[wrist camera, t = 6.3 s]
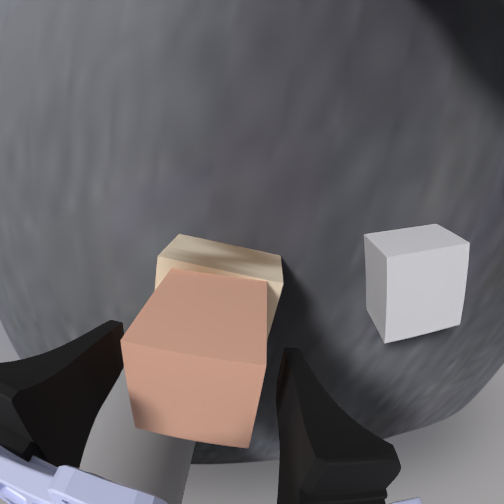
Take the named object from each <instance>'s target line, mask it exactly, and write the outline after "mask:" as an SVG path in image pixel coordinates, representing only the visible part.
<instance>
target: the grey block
mask: <svg viewBox="0 0 504 504" xmlns="http://www.w3.org/2000/svg"><path fill="white" fill-rule="evenodd" d="M364 244H365V265H366V309H367V311H368V313H369V315H370V317H371V319H372V320H373V322H374V324H375V326H376V328H377V330H378V332H379V334H380V336H381V338H382V340H383V341H384V343H389V342H393V341H398V340H402V339H406V338H411V337H415V336H419V335H423V334H427V333H431V332H434V331H438V330H442V329H445V328H449V327H453V326H456V325H459V324H460V321H461V315H462V309H463V302H464V295H465V288H466V280H467V270H468V259H469V245H470V243H469V242H467V241H466V240H464V239H462V238H461V237H459V236H457V235H455V234H454V233H452V232H450V231H448V230H447V229H445V228H443V227H441V226H439V225H438V224H432V225H425V226H418V227H411V228H404V229H397V230H390V231H383V232H376V233H370V234H364Z"/></svg>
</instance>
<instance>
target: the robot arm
mask: <svg viewBox="0 0 504 504" xmlns="http://www.w3.org/2000/svg"><path fill="white" fill-rule="evenodd" d="M123 336H124V331H123V323H122V322H118V321H113V320H110V321H108V322H106V323H104V324H102V325H100V326H98V327H97V328H95V329H93V330H91V331H90V332H88V333H86V334H84V335H82V336H81V337H79V338H77V339H75V340H73V341H71V342H69V343H67V344H65V345H63V346H61V347H58V348H56V349H54V350H51V351H49V352H46V353H43V354H40V355H37V356H33V357H30V358H26V359H22V360H17V361H12V362H5V363H0V498H1V499H3V500H4V501H5V502H7V503H8V504H168V503H167V502H166V501H165V500H163V499H161V498H159V497H157V496H155V495H153V494H151V493H148V492H145V491H142V490H139V489H136V488H133V487H129V486H126V485H123V484H120V483H116V482H113V481H110V480H108V479H105V478H102V477H99V476H96V475H94V474H91V473H88V472H86V471H83V470H81V469H79V467H80V463H81V460H82V456H83V453H84V449H85V446H86V443H87V440H88V437H89V435H90V432H91V429H92V427H93V424H94V422H95V419H96V417H97V415H98V413H99V411H100V409H101V407H102V405H103V403H104V402H105V400H106V398H107V397H108V395H109V393H110V391H111V390H112V388H113V386H114V385H115V383H116V381H117V379H118V378H119V376H120V374H121V371H122V369H123V367H124V363H123V356H122V349H121V341H120V340H121V339H122V337H123ZM276 405H277V417H278V428H279V440H280V465H279V484H278V498H277V504H385V500H384V499H385V498H387V491H386V488H387V487H388V485H389V484H390V483H391V482H392V481H393V480H394V479H395V478H396V476H397V475H398V474H399V472H400V469H401V465H400V462H399V459H398V456H397V453H396V451H395V449H394V447H393V445H392V444H390V443H388V442H386V441H384V440H383V439H381V438H379V437H377V436H375V435H374V434H372V433H371V432H369V431H368V430H366V429H365V428H363V427H362V426H361V425H359V424H358V423H357V422H356V421H354V420H353V419H352V418H351V417H350V416H349V415H347V414H346V413H345V412H344V411H343V410H342V409H341V408H340V407H339V406H338V405H337V404H336V403H335V402H334V401H333V399H332V398H331V397H330V396H329V395H328V393H327V392H326V391H325V389H324V388H323V387H322V385H321V384H320V383H319V381H318V380H317V378H316V377H315V375H314V374H313V372H312V370H311V369H310V367H309V365H308V364H307V362H306V360H305V358H304V357H303V355H302V353H301V351H300V350H299V349H296V348H284V353H283V357H282V362H281V366H280V371H279V375H278V380H277V393H276ZM391 504H422V502H421V499H420V498H419V497H416V498H412V499H407V500H403V501H397V502H393V503H391Z"/></svg>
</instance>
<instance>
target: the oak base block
mask: <svg viewBox="0 0 504 504" xmlns="http://www.w3.org/2000/svg"><path fill="white" fill-rule="evenodd" d="M171 268H175V269H182V270H189V271H196V272H203V273H210V274H217V275H224V276H232V277H239V278H246V279H254V280H262V281H267V339H268V336H269V333H270V329H271V326H272V322H273V319H274V315H275V312H276V308H277V305H278V301H279V297H280V294H281V290H282V287H283V274H282V264H281V256H280V255H275V254H271V253H266V252H261V251H257V250H252V249H247V248H243V247H238V246H233V245H229V244H224V243H220V242H215V241H210V240H205V239H201V238H196V237H191V236H187V235H182V234H179V235H178V236H177V237H176V238H175V239H174V240H173V241H172V242H171V243H170V244H169V245H168V246H167V247H166V248H165V249H164V250H163V251H162V252H161V253H160V254H159V255H158V260H157V270H156V282H155V290H156V289H157V287H158V286H159V284H160V283H161V282H162V280H163V279H164V278H165V276H166V275H167V273H168V272H169V271H170V269H171Z"/></svg>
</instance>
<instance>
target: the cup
mask: <svg viewBox="0 0 504 504" xmlns="http://www.w3.org/2000/svg"><path fill="white" fill-rule="evenodd" d="M195 442H196V441H193V440H188V439H182V438H177V437H173V436H168V435H163V434H159V433H155V432H151V431H147V430H143V429H139V428H135V423H134V419H133V414H132V409H131V404H130V399H129V393H128V388H127V382H126V376H125V370H124V369H123V370H122V371H121V374H120V376H119V378H118V379H117V381H116V383H115V385H114V386H113V388H112V390H111V391H110V393H109V395H108V397H107V398H106V400H105V402H104V403H103V405H102V407H101V409H100V411H99V413H98V415H97V417H96V419H95V422H94V424H93V427H92V429H91V432H90V435H89V437H88V440H87V443H86V446H85V449H84V453H83V456H82V460H81V463H80V467H79V469H81V470H83V471H86V472H88V473H91V474H94V475H96V476H99V477H102V478H105V479H108V480H110V481H113V482H116V483H120V484H123V485H126V486H129V487H133V488H136V489H139V490H142V491H145V492H148V493H151V494H153V495H155V496H157V497H159V498H161V499H163V500H165V501H166V502H167V503H168V504H181V503H182V499H183V494H184V489H185V485H186V481H187V477H188V472H189V467H190V464H191V459H192V455H193V451H194V447H195Z"/></svg>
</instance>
